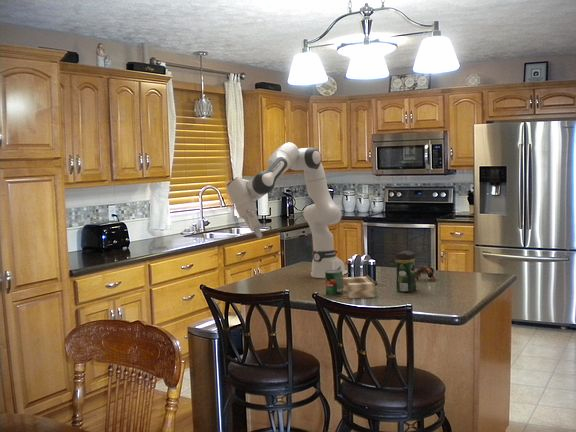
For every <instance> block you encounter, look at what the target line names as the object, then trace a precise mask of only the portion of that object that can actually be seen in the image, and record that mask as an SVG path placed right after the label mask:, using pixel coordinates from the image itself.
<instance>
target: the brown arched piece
mask: <svg viewBox="0 0 576 432" xmlns="http://www.w3.org/2000/svg"><path fill="white" fill-rule="evenodd" d="M421 274H422V275H423V274H424V275H427V277H428V278H430V280H431V282H435V281H436V278H435V275H434V274H435V270H434V268H433V267H430V266H429V267H427V266H426V265H424V266H421V267H420V268H418V269H417V270H415V279H416V281H418V280H419V278H421V276H422V275H421Z"/></svg>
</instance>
